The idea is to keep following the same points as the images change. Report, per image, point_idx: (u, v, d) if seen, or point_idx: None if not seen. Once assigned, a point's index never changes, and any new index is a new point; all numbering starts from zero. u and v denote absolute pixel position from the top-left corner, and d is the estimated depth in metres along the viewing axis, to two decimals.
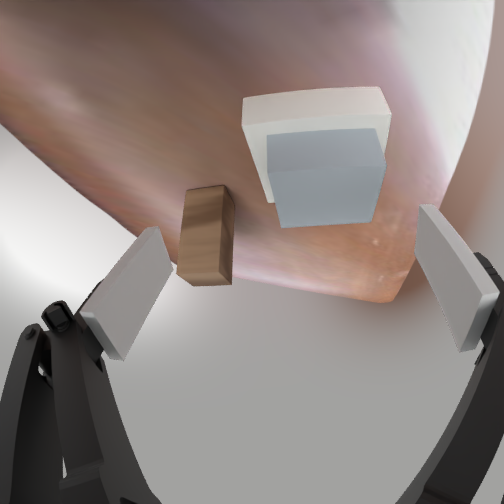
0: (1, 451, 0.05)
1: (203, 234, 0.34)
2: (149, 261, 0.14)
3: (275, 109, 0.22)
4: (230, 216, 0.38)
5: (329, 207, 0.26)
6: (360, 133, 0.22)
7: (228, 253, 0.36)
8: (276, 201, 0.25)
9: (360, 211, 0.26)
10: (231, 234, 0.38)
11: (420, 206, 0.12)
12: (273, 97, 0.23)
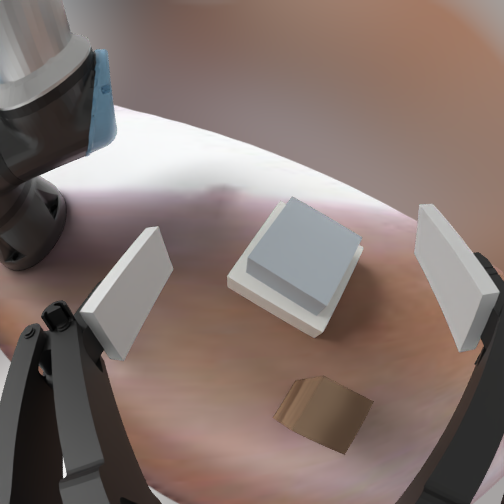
0: (1, 451, 0.05)
1: (298, 397, 0.25)
2: (149, 261, 0.14)
3: None
4: None
5: (319, 251, 0.30)
6: None
7: None
8: (282, 277, 0.29)
9: (339, 235, 0.31)
10: None
11: (420, 206, 0.12)
12: None
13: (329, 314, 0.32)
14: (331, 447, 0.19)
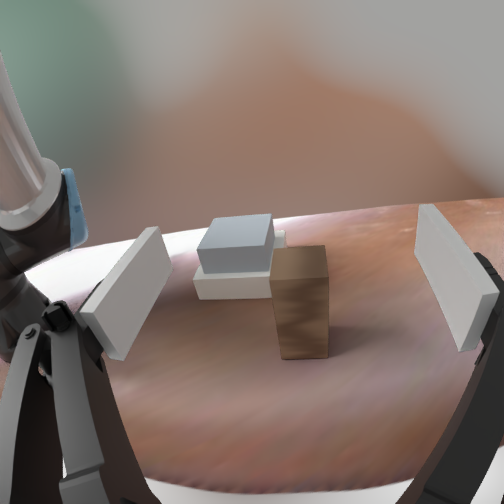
0: (1, 451, 0.05)
1: None
2: (149, 261, 0.14)
3: None
4: None
5: (244, 229, 0.42)
6: None
7: None
8: (225, 246, 0.39)
9: (255, 218, 0.44)
10: None
11: (420, 206, 0.12)
12: None
13: None
14: (312, 277, 0.25)
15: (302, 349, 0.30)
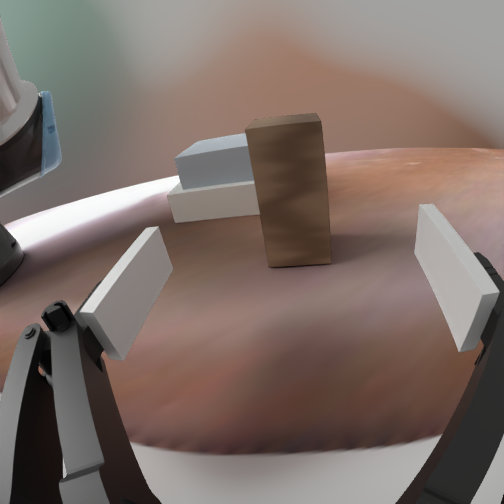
0: (1, 451, 0.05)
1: None
2: (149, 261, 0.14)
3: None
4: None
5: (230, 140, 0.35)
6: None
7: None
8: (206, 151, 0.32)
9: (242, 135, 0.37)
10: None
11: (420, 206, 0.12)
12: None
13: None
14: (300, 122, 0.18)
15: (295, 247, 0.23)
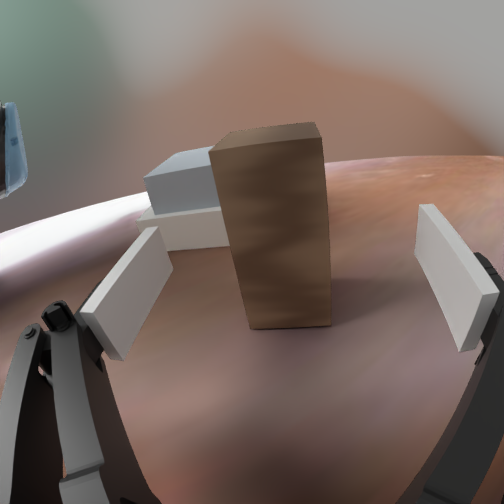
0: (1, 451, 0.05)
1: None
2: (149, 261, 0.14)
3: None
4: None
5: None
6: None
7: None
8: (180, 169, 0.26)
9: None
10: None
11: (420, 206, 0.12)
12: None
13: None
14: (289, 139, 0.12)
15: (284, 308, 0.17)
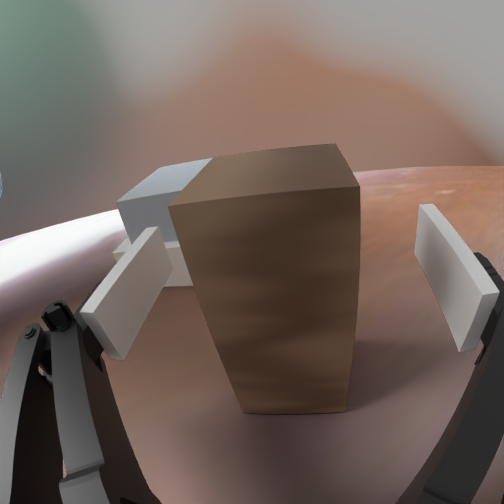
0: (0, 451, 0.05)
1: None
2: (149, 261, 0.14)
3: None
4: None
5: (198, 171, 0.25)
6: None
7: None
8: (158, 193, 0.21)
9: None
10: None
11: (420, 206, 0.12)
12: None
13: None
14: (304, 188, 0.07)
15: (287, 398, 0.12)
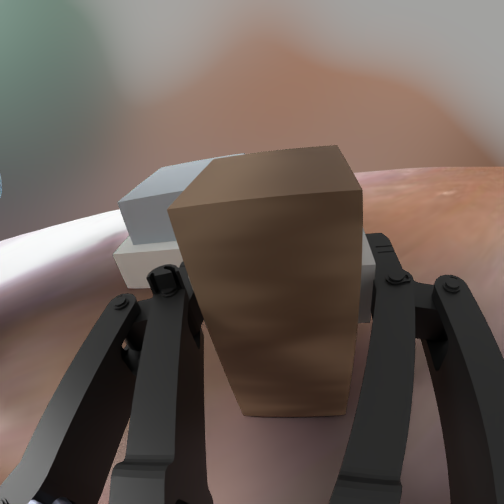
0: (48, 431, 0.05)
1: None
2: None
3: None
4: None
5: (198, 171, 0.25)
6: None
7: None
8: (159, 194, 0.21)
9: None
10: None
11: None
12: None
13: None
14: (305, 191, 0.07)
15: (287, 401, 0.12)
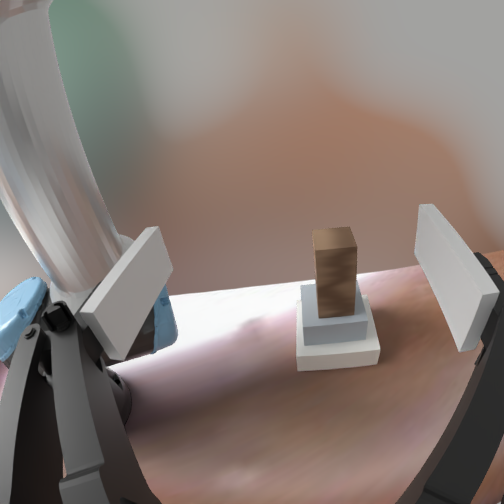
0: (0, 451, 0.05)
1: (315, 268, 0.39)
2: (149, 261, 0.14)
3: None
4: None
5: None
6: None
7: None
8: (331, 323, 0.39)
9: None
10: None
11: (420, 206, 0.12)
12: None
13: (376, 338, 0.39)
14: (345, 247, 0.34)
15: (335, 308, 0.39)
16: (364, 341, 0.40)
